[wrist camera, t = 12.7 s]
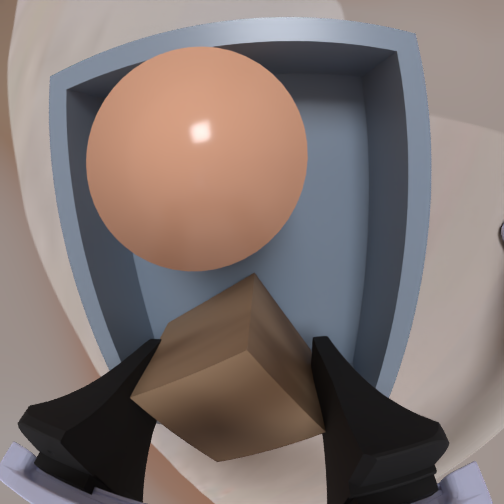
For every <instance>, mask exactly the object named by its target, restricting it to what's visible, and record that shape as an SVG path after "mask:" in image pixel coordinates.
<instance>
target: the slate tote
mask: <svg viewBox="0 0 504 504" xmlns="http://www.w3.org/2000/svg"><path fill="white" fill-rule="evenodd" d="M187 47H214V48H221V49H225V50H230V51H233V52H236V53H239V54H241V55H244V56H246V57H248V58H250V59H252V60H254V61H255V62H257V63H259V64H260V65H262V66H263V67H264V68H266V69H267V70H268V71H270V72H271V73H272V74H273V75H274V76H275V77H276V78H277V79H278V80H279V81H280V82H281V83H282V84H283V86H284V87H285V88H286V90H287V91H288V93H289V94H290V95H291V97H292V98H293V100H294V102H295V104H296V106H297V108H298V110H299V113H300V115H301V118H302V121H303V124H304V128H305V133H306V139H307V152H308V161H307V170H306V177H305V181H304V185H303V189H302V192H301V195H300V197H299V200H298V202H297V205H296V207H295V208H294V210H293V212H292V214H291V215H290V217H289V219H288V220H287V222H286V223H285V224H284V226H283V227H282V228H281V230H280V231H279V232H278V233H277V234H276V235H275V236H274V237H273V238H272V239H271V240H270V241H269V242H268V243H267V244H266V245H264V246H263V247H262V248H261V249H259V250H258V251H257V252H255V253H253V254H252V255H250V256H248V257H247V258H245V259H243V260H241V261H239V262H236V263H234V264H232V265H229V266H225V267H222V268H218V269H214V270H207V271H180V270H173V269H169V268H165V267H161V266H158V265H156V264H153V263H150V262H148V261H146V260H144V259H142V258H141V257H139V256H137V255H135V254H134V253H133V252H131V251H130V250H129V249H127V248H126V247H125V246H124V245H123V244H121V243H120V242H119V241H118V240H117V239H116V238H115V237H114V235H113V234H112V233H111V232H110V231H109V229H108V228H107V227H106V225H105V224H104V222H103V221H102V219H101V217H100V216H99V214H98V211H97V209H96V207H95V205H94V202H93V199H92V197H91V194H90V190H89V185H88V180H87V170H86V153H87V146H88V139H89V135H90V132H91V128H92V125H93V122H94V120H95V117H96V115H97V113H98V111H99V109H100V107H101V105H102V104H103V102H104V100H105V99H106V97H107V96H108V94H109V93H110V92H111V90H112V89H113V88H114V87H115V86H116V85H117V84H118V82H119V81H120V80H121V79H122V78H123V77H125V76H126V75H127V74H128V73H129V72H130V71H132V70H133V69H134V68H136V67H137V66H139V65H140V64H142V63H143V62H145V61H147V60H149V59H151V58H153V57H155V56H157V55H160V54H163V53H166V52H169V51H172V50H176V49H181V48H187ZM49 131H50V149H51V161H52V171H53V180H54V187H55V194H56V201H57V207H58V212H59V218H60V223H61V228H62V232H63V237H64V241H65V246H66V250H67V254H68V258H69V261H70V265H71V269H72V272H73V276H74V279H75V282H76V286H77V289H78V292H79V295H80V298H81V301H82V304H83V307H84V310H85V313H86V315H87V318H88V321H89V323H90V326H91V329H92V331H93V334H94V336H95V339H96V341H97V343H98V346H99V348H100V350H101V353H102V355H103V357H104V359H105V362H106V364H107V366H108V368H109V370H111V369H113V368H114V367H116V366H117V365H118V364H120V363H121V362H122V361H123V360H125V359H126V358H127V357H128V356H130V355H131V354H132V353H133V352H134V351H136V350H137V349H138V348H139V347H140V346H142V345H143V344H144V343H145V342H147V341H148V340H149V339H160V337H161V335H162V334H163V332H164V330H165V328H166V326H167V324H168V323H169V322H170V321H172V320H174V319H176V318H177V317H179V316H181V315H183V314H184V313H186V312H188V311H190V310H191V309H193V308H195V307H197V306H198V305H200V304H202V303H204V302H205V301H207V300H209V299H210V298H212V297H214V296H216V295H217V294H219V293H221V292H222V291H224V290H226V289H228V288H229V287H231V286H233V285H234V284H236V283H238V282H239V281H241V280H243V279H245V278H246V277H248V276H250V275H251V274H253V273H255V274H256V275H257V277H258V278H259V279H260V281H261V282H262V284H263V285H264V286H265V288H266V289H267V290H268V292H269V293H270V295H271V296H272V297H273V299H274V300H275V301H276V303H277V304H278V306H279V307H280V308H281V310H282V311H283V312H284V314H285V315H286V317H287V318H288V319H289V321H290V322H291V323H292V325H293V326H294V327H295V329H296V330H297V332H298V333H299V334H300V336H301V337H302V338H303V340H304V341H305V342H306V344H307V345H308V347H309V348H310V349H311V352H312V340H313V337H318V336H328V337H329V338H330V340H331V341H332V343H333V344H334V345H335V347H336V348H337V349H338V350H339V352H340V353H341V354H342V355H343V357H344V358H345V359H346V360H347V361H348V362H349V363H350V365H351V366H352V367H353V368H354V369H355V370H356V371H357V372H358V373H359V374H360V375H361V376H362V377H363V378H364V379H365V380H366V381H367V382H368V383H370V384H371V385H372V386H373V387H374V388H376V389H377V390H378V391H379V392H381V393H382V394H383V395H385V396H386V397H388V398H389V396H390V394H391V391H392V388H393V385H394V383H395V380H396V377H397V374H398V371H399V368H400V365H401V362H402V358H403V355H404V352H405V348H406V345H407V341H408V338H409V334H410V330H411V326H412V322H413V318H414V314H415V310H416V305H417V300H418V295H419V290H420V285H421V280H422V274H423V268H424V261H425V254H426V246H427V237H428V228H429V216H430V200H431V137H430V121H429V110H428V101H427V93H426V86H425V79H424V73H423V67H422V61H421V57H420V52H419V47H418V43H417V38H416V34H415V33H411V32H407V31H403V30H399V29H394V28H389V27H384V26H379V25H374V24H368V23H361V22H354V21H346V20H337V19H326V18H308V17H269V18H251V19H239V20H230V21H222V22H215V23H208V24H202V25H196V26H191V27H186V28H181V29H177V30H172V31H168V32H164V33H160V34H156V35H153V36H149V37H146V38H142V39H139V40H136V41H133V42H130V43H126V44H124V45H121V46H118V47H115V48H112V49H110V50H107V51H104V52H102V53H99V54H97V55H94V56H92V57H90V58H87V59H85V60H83V61H81V62H78V63H76V64H74V65H72V66H70V67H68V68H66V69H64V70H62V71H60V72H58V73H56V74H54V75H52V76H50V90H49ZM156 423H157V424H161V423H160V422H159V421H157V422H156Z"/></svg>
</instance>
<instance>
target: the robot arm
mask: <svg viewBox="0 0 504 504" xmlns="http://www.w3.org/2000/svg"><path fill="white" fill-rule="evenodd" d="M501 235H502V238H503V240H504V225H503V226H502V229H501ZM160 342H161V339H149V340H148V341H147V342H145V343H144V344H143V345H142V346H140V347H139V348H138V349H137V350H136V351H134V352H133V353H132V354H131V355H130V356H128V357H127V358H126V359H125V360H123V361H122V362H121V363H120V364H118V365H117V366H116V367H114V368H113V369H111V370H110V371H109V372H107V373H106V374H105V375H103V376H102V377H100V378H99V379H97V380H95V381H94V382H92V383H90V384H89V385H87V386H85V387H83V388H81V389H79V390H77V391H74V392H72V393H70V394H68V395H65V396H63V397H60V398H57V399H54V400H51V401H48V402H44V403H40V404H35V405H30V406H29V407H28V409H27V410H26V412H25V413H24V415H23V416H22V418H21V419H20V421H19V422H18V426H19V429H20V430H21V432H22V433H23V434H24V436H25V437H26V438H27V439H28V440H29V441H30V442H31V443H32V444H33V446H35V448H36V449H37V450H38V451H40V453H39V455H38V456H37V457H36V456H35V455H34V454H33V453H32V452H30V451H29V450H28V449H26V448H24V447H23V446H21V445H20V444H18V443H16V442H13V443H12V444H11V446H10V448H9V449H8V451H7V453H6V454H5V456H4V458H3V459H2V461H1V463H0V480H1V481H2V482H3V483H4V484H6V485H7V486H8V487H9V488H10V489H12V490H13V491H14V492H16V493H17V494H19V495H20V496H21V497H22V498H24V499H25V500H27V501H28V502H30V503H31V504H146V503H143V488H144V477H145V469H146V463H147V457H148V451H149V447H150V443H151V438H152V434H153V431H154V428H155V425H156V422H157V420H156V419H155V418H153V417H152V416H151V415H150V414H148V413H147V412H146V411H145V410H144V409H142V408H141V407H140V406H139V405H138V404H137V403H135V402H134V401H133V400H132V399H131V398H130V396H131V395H132V393H133V391H134V389H135V387H136V385H137V383H138V382H139V380H140V378H141V376H142V375H143V373H144V371H145V369H146V368H147V366H148V364H149V363H150V361H151V359H152V357H153V356H154V354H155V352H156V350H157V348H158V346H159V344H160ZM311 368H312V374H313V380H314V384H315V388H316V392H317V396H318V400H319V404H320V408H321V413H322V417H323V421H324V426H325V431H326V432H324V433H322V435H323V442H324V452H325V464H326V480H327V504H493V502H492V500H491V497H490V494H489V491H488V490H487V486H486V484H485V481H484V479H483V476H482V474H481V472H480V469H479V467H478V465H477V463H476V461H473V462H471V463H469V464H468V465H465V466H463V467H461V468H459V469H457V470H455V471H453V472H452V473H450V474H448V475H447V476H446V477H444V478H443V479H442V480H441V482H440V483H438V484H437V483H436V479H435V477H434V474H436V472H437V470H436V467H435V465H434V464H435V463H436V462H437V461H438V460H439V459H440V458H441V456H442V455H443V454H444V453H445V451H446V450H447V448H448V446H449V441H448V439H447V437H446V434H445V432H444V430H443V429H442V427H441V426H440V424H439V422H436V421H433V420H431V419H428V418H426V417H423V416H420V415H418V414H416V413H414V412H412V411H410V410H408V409H406V408H404V407H402V406H401V405H399V404H397V403H396V402H394V401H392V400H391V399H389V398H388V397H386V396H385V395H383V394H382V393H381V392H379V391H378V390H377V389H376V388H374V387H373V386H372V385H371V384H370V383H368V382H367V381H366V380H365V379H364V378H363V377H362V376H361V375H360V374H359V373H358V372H357V371H356V370H355V369H354V368H353V367H352V366H351V365H350V363H349V362H348V361H347V360H346V359H345V358H344V357H343V355H342V354H341V353H340V352H339V350H338V349H337V348H336V347H335V345H334V344H333V343H332V341H331V340H330V338H329V337H328V336H318V337H313V340H312V356H311Z"/></svg>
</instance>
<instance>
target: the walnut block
mask: <svg viewBox="0 0 504 504" xmlns="http://www.w3.org/2000/svg"><path fill="white" fill-rule="evenodd" d="M160 339H161V342H160V344H159V346H158V348H157V350H156V352H155V354H154V356H153V357H152V359H151V361H150V363H149V364H148V366H147V368H146V369H145V371H144V373H143V375H142V376H141V378H140V380H139V382H138V383H137V385H136V387H135V389H134V391H133V393H132V395H131V396H130V398H131V399H132V400H133V401H134V402H135V403H137V404H138V405H139V406H140V407H141V408H142V409H144V410H145V411H146V412H147V413H148V414H150V415H151V416H152V417H153V418H155V419H156V420H157V421H159V422H160V423H161V424H162V425H164V426H165V427H166V428H168V429H169V430H170V431H172V432H173V433H174V434H176V435H177V436H179V437H180V438H181V439H183V440H184V441H186V442H187V443H189V444H190V445H192V446H193V447H195V448H196V449H198V450H199V451H201V452H202V453H204V454H205V455H207V456H208V457H210V458H212V459H213V460H215V461H217V462H220V461H226V460H231V459H236V458H240V457H245V456H249V455H254V454H258V453H262V452H265V451H269V450H273V449H276V448H280V447H283V446H287V445H290V444H293V443H296V442H299V441H302V440H305V439H308V438H311V437H314V436H316V435H319V434H322V433H324V432H326V431H325V426H324V421H323V417H322V413H321V408H320V404H319V400H318V396H317V392H316V388H315V384H314V380H313V374H312V368H311V356H312V352H311V349H310V348H309V347H308V345H307V344H306V342H305V341H304V340H303V338H302V337H301V336H300V334H299V333H298V332H297V330H296V329H295V327H294V326H293V325H292V323H291V322H290V321H289V319H288V318H287V317H286V315H285V314H284V312H283V311H282V310H281V308H280V307H279V306H278V304H277V303H276V301H275V300H274V299H273V297H272V296H271V295H270V293H269V292H268V290H267V289H266V288H265V286H264V285H263V284H262V282H261V281H260V279H259V278H258V277H257V275H256V274H255V273H253V274H251V275H250V276H248V277H246V278H245V279H243V280H241V281H239V282H238V283H236V284H234V285H233V286H231V287H229V288H228V289H226V290H224V291H222V292H221V293H219V294H217V295H216V296H214V297H212V298H210V299H209V300H207V301H205V302H204V303H202V304H200V305H198V306H197V307H195V308H193V309H191V310H190V311H188V312H186V313H184V314H183V315H181V316H179V317H177V318H176V319H174V320H172V321H170V322H169V323H168V324H167V326H166V328H165V330H164V332H163V334H162V335H161V337H160Z"/></svg>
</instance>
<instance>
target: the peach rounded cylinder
mask: <svg viewBox="0 0 504 504" xmlns="http://www.w3.org/2000/svg"><path fill="white" fill-rule="evenodd" d="M307 161H308V152H307V139H306V133H305V128H304V124H303V121H302V118H301V115H300V113H299V110H298V108H297V106H296V104H295V102H294V100H293V98H292V97H291V95H290V94H289V93H288V91H287V90H286V88H285V87H284V86H283V84H282V83H281V82H280V81H279V80H278V79H277V78H276V77H275V76H274V75H273V74H272V73H271V72H270V71H268V70H267V69H266V68H264V67H263V66H262V65H260V64H259V63H257V62H255V61H254V60H252V59H250V58H248V57H246V56H244V55H241V54H239V53H236V52H233V51H230V50H225V49H221V48H214V47H187V48H181V49H176V50H172V51H169V52H166V53H163V54H160V55H157V56H155V57H153V58H151V59H149V60H147V61H145V62H143V63H142V64H140V65H139V66H137V67H136V68H134V69H133V70H132V71H130V72H129V73H128V74H127V75H126V76H125V77H123V78H122V79H121V80H120V81H119V82H118V84H117V85H116V86H115V87H114V88H113V89H112V90H111V92H110V93H109V94H108V96H107V97H106V99H105V100H104V102H103V104H102V105H101V107H100V109H99V111H98V113H97V115H96V117H95V120H94V122H93V125H92V128H91V132H90V135H89V139H88V146H87V153H86V170H87V180H88V185H89V190H90V194H91V197H92V199H93V202H94V205H95V207H96V209H97V211H98V214H99V216H100V217H101V219H102V221H103V222H104V224H105V225H106V227H107V228H108V229H109V231H110V232H111V233H112V234H113V235H114V237H115V238H116V239H117V240H118V241H119V242H120V243H121V244H123V245H124V246H125V247H126V248H127V249H129V250H130V251H131V252H133V253H134V254H135V255H137V256H139V257H141V258H142V259H144V260H146V261H148V262H150V263H153V264H156V265H158V266H161V267H165V268H169V269H173V270H180V271H207V270H214V269H218V268H222V267H225V266H229V265H232V264H234V263H236V262H239V261H241V260H243V259H245V258H247V257H248V256H250V255H252V254H253V253H255V252H257V251H258V250H259V249H261V248H262V247H263V246H264V245H266V244H267V243H268V242H269V241H270V240H271V239H272V238H273V237H274V236H275V235H276V234H277V233H278V232H279V231H280V230H281V228H282V227H283V226H284V224H285V223H286V222H287V220H288V219H289V217H290V215H291V214H292V212H293V210H294V208H295V207H296V205H297V202H298V200H299V197H300V195H301V192H302V189H303V185H304V181H305V177H306V170H307Z"/></svg>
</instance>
